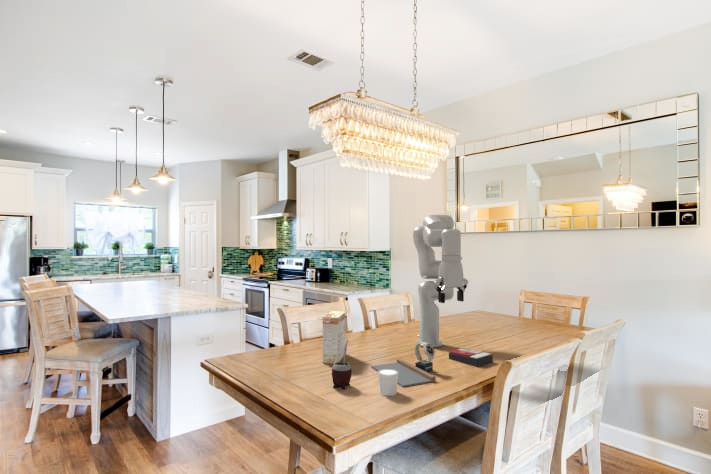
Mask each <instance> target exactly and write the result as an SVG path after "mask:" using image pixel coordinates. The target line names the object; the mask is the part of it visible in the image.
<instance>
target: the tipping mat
mask: <svg viewBox="0 0 711 474" xmlns="http://www.w3.org/2000/svg"><path fill="white" fill-rule="evenodd" d="M370 367H371V369H373V370H374V371H376V372H378V371H380V370H382V369H393V370H396V371H398V382H397V386H400V387H402V388H406V387H407V388H408V387H413V386H418V385H423V384H425V385H426V384H429V383H435V382H436V380H437V379H436V376H435V375H433V374H432V373H429V372H426V371H424V370H422V369H420V368H418V367H416V366H415V365H414V364H412V363H410V362H408V361H406V360H405V359H402V358H399V359H398V358H397V359H396V362H391V363H384V364H378V365H377V364H376V365H371V366H370Z"/></svg>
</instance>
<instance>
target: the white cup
mask: <svg viewBox="0 0 711 474" xmlns="http://www.w3.org/2000/svg"><path fill="white" fill-rule="evenodd" d="M377 373H378V374H377V375H378V383H379V387H378V388H379V394H381V395H382V396H386V397H391V396H393V397H394V396H395V395H397V391H398V384H397V382H398V371H396V370H393V369H382V370H380V371H377Z"/></svg>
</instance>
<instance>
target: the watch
mask: <svg viewBox="0 0 711 474" xmlns="http://www.w3.org/2000/svg"><path fill="white" fill-rule="evenodd" d="M420 344H423V353H424V355H426V357H427V358H428V360H425V359H423V357H422V354H421V351H420V346H419V345H420ZM434 348H435V347H434ZM434 348H433V347H432V346H431V345H430V344H428V343H426V342H422V343H418V344H417V343H416V345H415V347H414V354H415V356H416V359H417V362H415V363H414V364H415V365H414V366H416V367H418V368H420V369H422V370H424V371H426V372H428V373H429V372H431V371H433V370H434V369H433V367H434V366H433V365H434V364H433V360H434V358H435V352H436V351H435V349H434Z"/></svg>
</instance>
